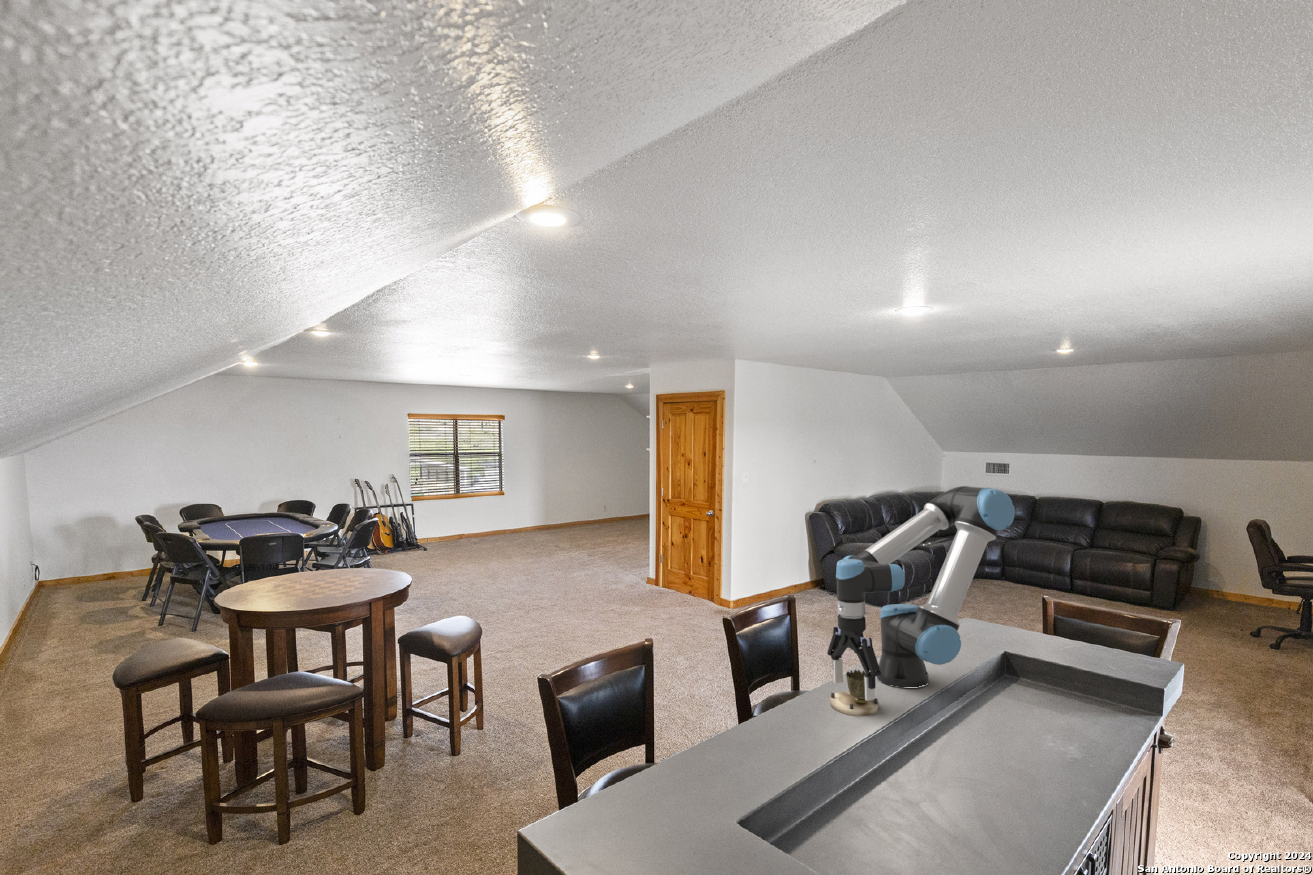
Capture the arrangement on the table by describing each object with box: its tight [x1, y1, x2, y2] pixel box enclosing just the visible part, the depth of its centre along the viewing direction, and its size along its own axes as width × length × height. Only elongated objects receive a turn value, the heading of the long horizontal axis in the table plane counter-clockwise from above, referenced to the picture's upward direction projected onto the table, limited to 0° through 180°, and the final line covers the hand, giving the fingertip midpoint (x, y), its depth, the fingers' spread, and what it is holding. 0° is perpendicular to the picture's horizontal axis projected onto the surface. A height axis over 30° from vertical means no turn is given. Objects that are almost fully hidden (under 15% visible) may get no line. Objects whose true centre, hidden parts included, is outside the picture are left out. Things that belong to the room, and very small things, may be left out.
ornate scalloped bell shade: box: [845, 669, 868, 705], centre depth 175 cm, size 8×7×8 cm
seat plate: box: [829, 690, 879, 717], centre depth 177 cm, size 13×13×3 cm
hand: (853, 690), depth 177 cm, fingers open, 13 cm apart
